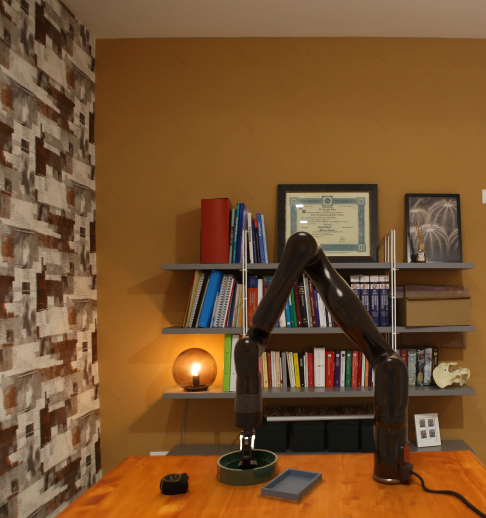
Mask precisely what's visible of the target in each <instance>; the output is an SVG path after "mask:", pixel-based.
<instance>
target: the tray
mask: <svg viewBox="0 0 486 518" xmlns="http://www.w3.org/2000/svg"><path fill="white" fill-rule="evenodd" d="M322 480H323V473H322V472H316V471H309V470H303V469H296V468H291V467H288V468H287V469H285V470H284V471H282V472H281V473H279V474H277V475H276V476H275V477H274V478H272V479H271V480H269V482H267V483H266V484H264V485H263V486H262V487H260V495H262V496H267V497H272V498H278V499H285V500H289V501H296V502H298V501H299V500H300V499H302V498H303V497H304V496H306V494H308V492H310V491H311V490H312V489H313V488H314V487H315V486H316V485H318V484H319V483H320V482H321V481H322Z"/></svg>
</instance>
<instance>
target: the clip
mask: <svg viewBox="0 0 486 518" xmlns="http://www.w3.org/2000/svg"><path fill="white" fill-rule="evenodd" d="M256 468H257V462H256V461H251V469H256ZM238 470H242V461H240V463H239V464H238Z"/></svg>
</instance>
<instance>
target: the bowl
mask: <svg viewBox="0 0 486 518" xmlns="http://www.w3.org/2000/svg"><path fill="white" fill-rule="evenodd" d="M240 461H242V460H241V450H235V451H231V452H228V453H225V454H223V455H222V456H219V458H218V459H217V461H216V480H218V481H219V483H222V484H225V485H227V486H228V485H229V486H237V487H244V486H245V487H246V486H254V485H259V484H263V483H266V482H268V481H269V482H270V481H271V480H273V479H274V478H276V477H277V476H278V473H279V457H278V455H277V453H274V452H273V451H271V450H267V449H258V448H257V449H256V448H255V449H253V451H252V461H256V462H257V468H256V469H247V470H238V464H239V463H240Z"/></svg>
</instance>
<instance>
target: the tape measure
mask: <svg viewBox="0 0 486 518" xmlns="http://www.w3.org/2000/svg"><path fill="white" fill-rule="evenodd" d="M189 477H190V476H189V475H188V473H187V472H181V473H176V472H175V473H169V474H166V475H164V476H163V477H161V479H160V481H159V490H160V492H161V494H163V495H166V496H174V495H178V494H183V493H187V492H188V490H189Z"/></svg>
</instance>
